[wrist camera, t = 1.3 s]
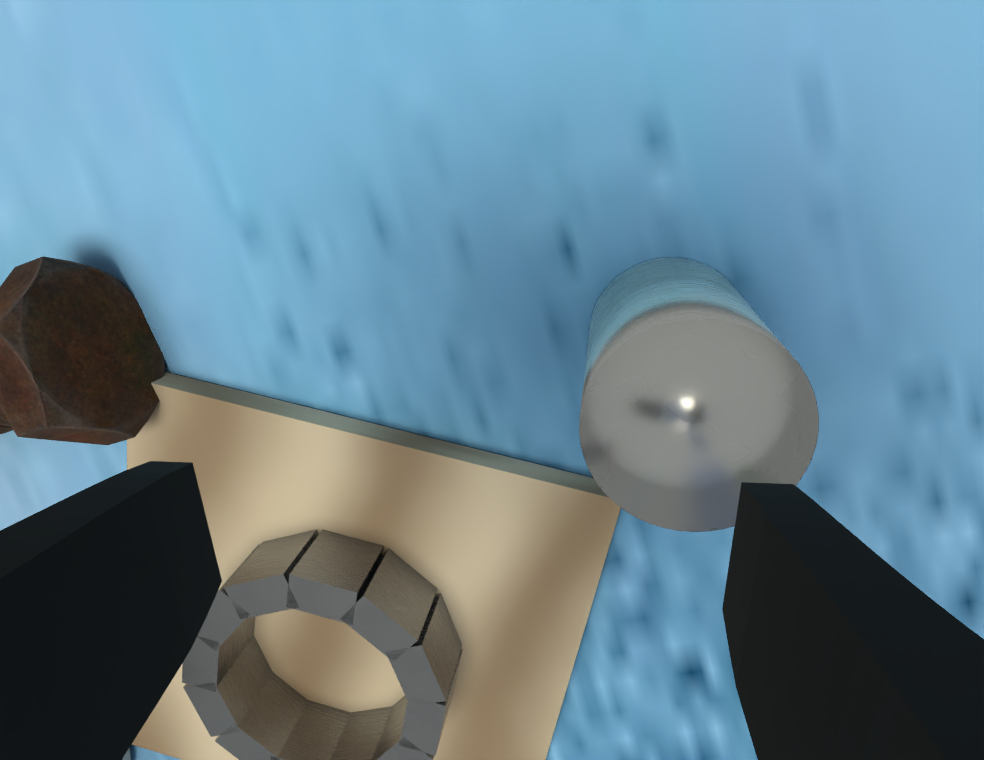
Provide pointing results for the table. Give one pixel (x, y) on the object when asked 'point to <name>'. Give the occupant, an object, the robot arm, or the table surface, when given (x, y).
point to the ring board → (407, 532)
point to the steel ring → (338, 596)
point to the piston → (689, 397)
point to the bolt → (74, 355)
